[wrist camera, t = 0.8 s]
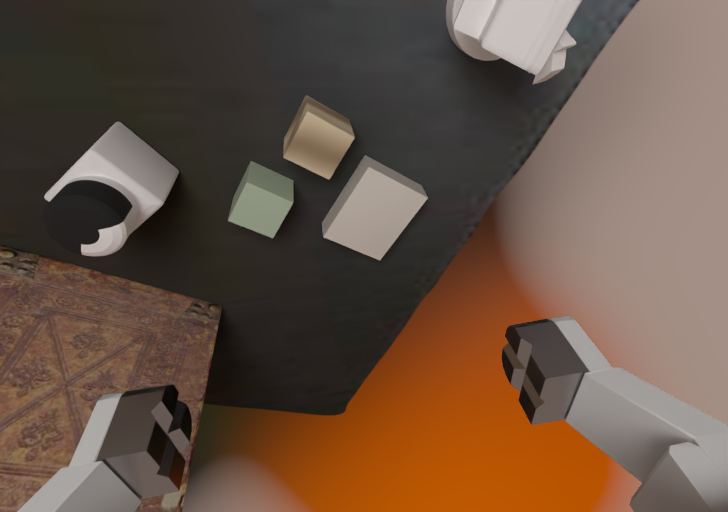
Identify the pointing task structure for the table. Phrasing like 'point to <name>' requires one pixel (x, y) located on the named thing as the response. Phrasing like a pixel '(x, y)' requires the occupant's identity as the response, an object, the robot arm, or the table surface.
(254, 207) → the sage cube
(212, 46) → the table surface
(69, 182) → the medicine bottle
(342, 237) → the tile slab
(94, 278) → the book
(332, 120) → the maple cube
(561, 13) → the character figurine
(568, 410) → the robot arm
